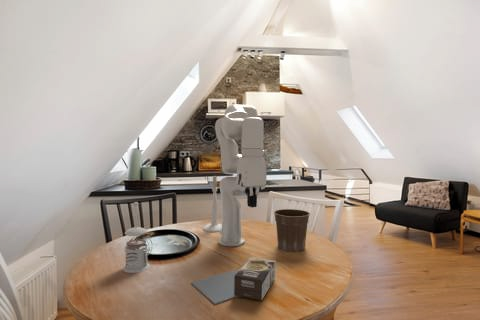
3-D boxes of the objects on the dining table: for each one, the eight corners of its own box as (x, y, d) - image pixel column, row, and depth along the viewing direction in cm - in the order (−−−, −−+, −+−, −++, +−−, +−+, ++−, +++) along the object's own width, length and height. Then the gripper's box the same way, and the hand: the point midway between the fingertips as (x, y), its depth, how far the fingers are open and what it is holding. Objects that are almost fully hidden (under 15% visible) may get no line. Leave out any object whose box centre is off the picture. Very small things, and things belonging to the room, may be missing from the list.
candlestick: (225, 232, 158) (225, 176, 156) (202, 232, 157) (201, 176, 156) (226, 225, 170) (226, 174, 169) (204, 225, 170) (204, 174, 169)
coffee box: (275, 260, 101) (262, 280, 86) (275, 278, 101) (262, 301, 86) (250, 256, 104) (233, 275, 89) (250, 274, 104) (233, 295, 89)
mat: (191, 283, 98) (191, 282, 98) (237, 270, 109) (237, 269, 109) (214, 304, 85) (214, 303, 85) (264, 287, 95) (264, 286, 95)
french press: (135, 260, 118) (134, 199, 116) (159, 265, 113) (158, 201, 112) (116, 270, 108) (115, 203, 107) (142, 275, 104) (141, 205, 103)
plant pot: (279, 239, 145) (280, 207, 144) (312, 244, 138) (313, 210, 137) (268, 250, 130) (268, 214, 129) (304, 256, 123) (305, 218, 122)
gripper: (262, 153, 108) (262, 202, 109) (228, 153, 100) (228, 207, 101) (276, 153, 102) (275, 206, 103) (240, 154, 94) (240, 211, 94)
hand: (252, 206), depth 102 cm, fingers closed
